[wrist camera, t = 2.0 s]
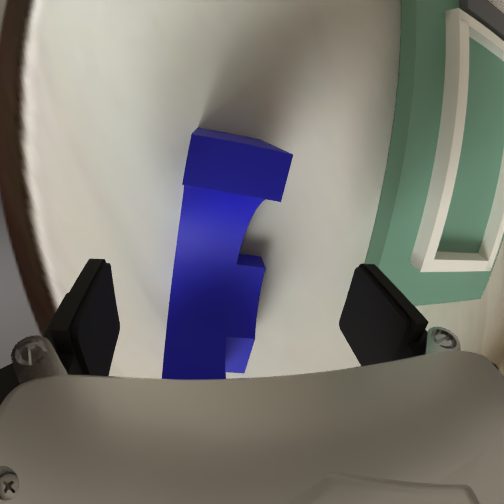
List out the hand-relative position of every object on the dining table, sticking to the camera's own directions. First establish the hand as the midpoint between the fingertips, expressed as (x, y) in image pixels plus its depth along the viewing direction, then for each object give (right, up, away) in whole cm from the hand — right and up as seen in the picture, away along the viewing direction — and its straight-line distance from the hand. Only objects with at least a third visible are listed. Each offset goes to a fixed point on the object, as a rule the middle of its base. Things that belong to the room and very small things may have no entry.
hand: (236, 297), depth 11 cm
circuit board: (+14, +9, +4) cm, 17 cm away
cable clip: (-1, +2, +5) cm, 6 cm away
